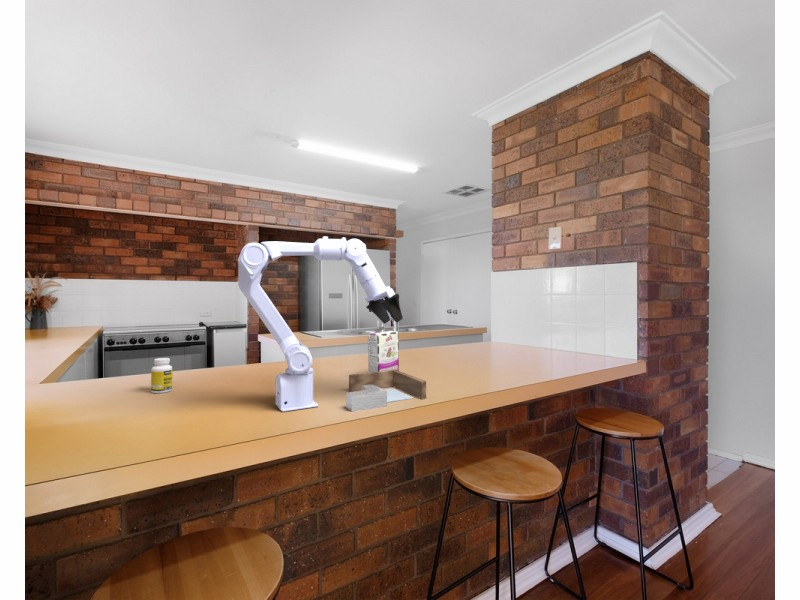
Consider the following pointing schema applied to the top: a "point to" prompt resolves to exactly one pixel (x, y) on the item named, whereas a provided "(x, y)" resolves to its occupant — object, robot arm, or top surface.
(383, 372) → the corner fence
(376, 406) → the grey speckled block
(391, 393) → the pad
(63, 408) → the top surface
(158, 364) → the supplement bottle
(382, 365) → the candy bar box
